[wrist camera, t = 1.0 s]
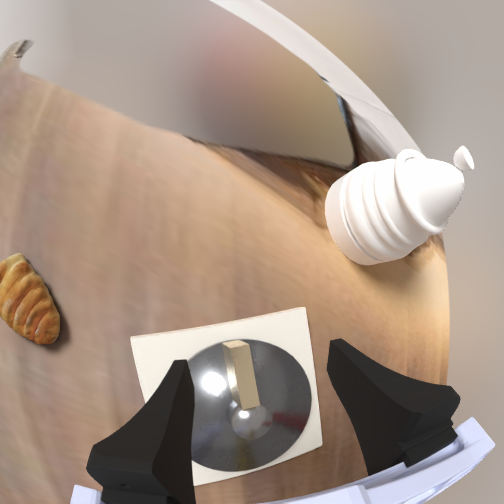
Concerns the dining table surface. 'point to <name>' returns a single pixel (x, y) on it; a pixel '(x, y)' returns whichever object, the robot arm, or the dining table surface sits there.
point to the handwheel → (246, 404)
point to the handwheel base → (195, 339)
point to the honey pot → (394, 204)
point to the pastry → (27, 301)
